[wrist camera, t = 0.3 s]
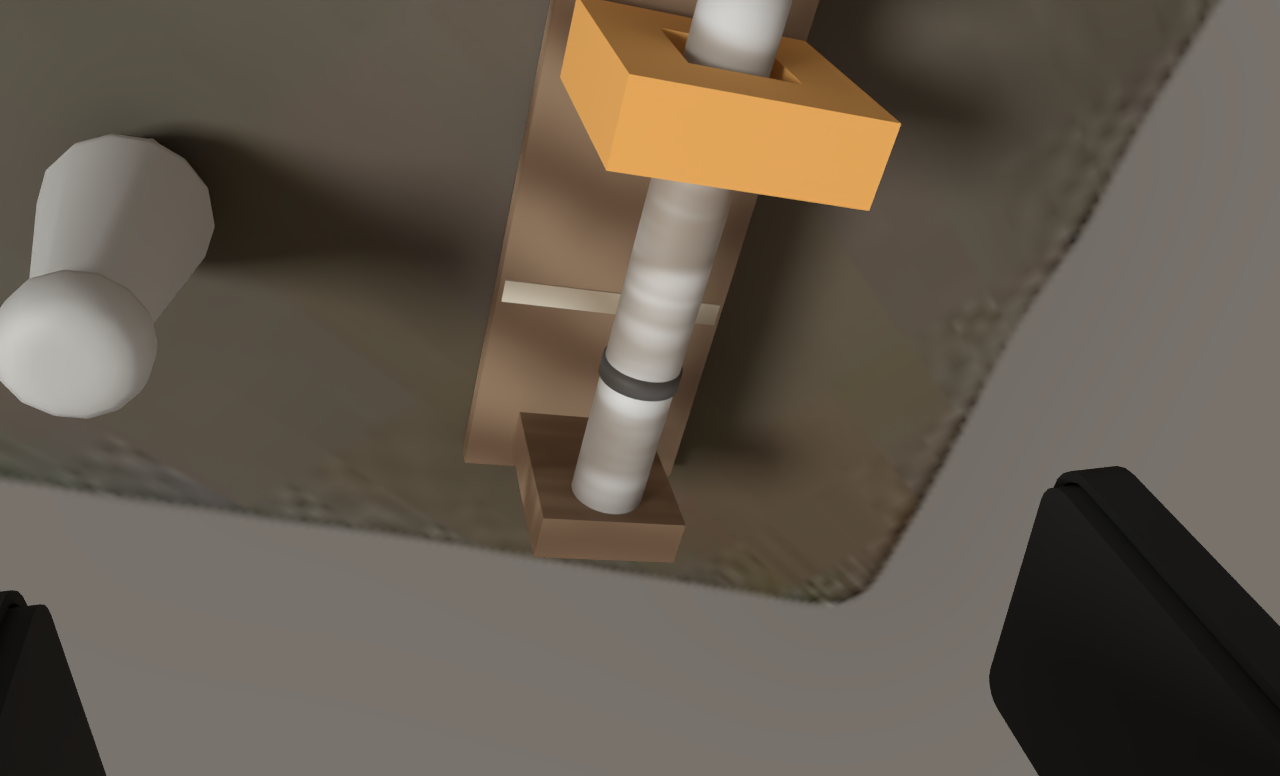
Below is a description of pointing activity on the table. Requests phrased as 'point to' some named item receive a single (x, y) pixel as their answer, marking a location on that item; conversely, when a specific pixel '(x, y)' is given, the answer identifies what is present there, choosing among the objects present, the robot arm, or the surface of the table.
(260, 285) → the table surface
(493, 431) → the pipe stand
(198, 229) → the salt shaker
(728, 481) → the table surface
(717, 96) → the collar
